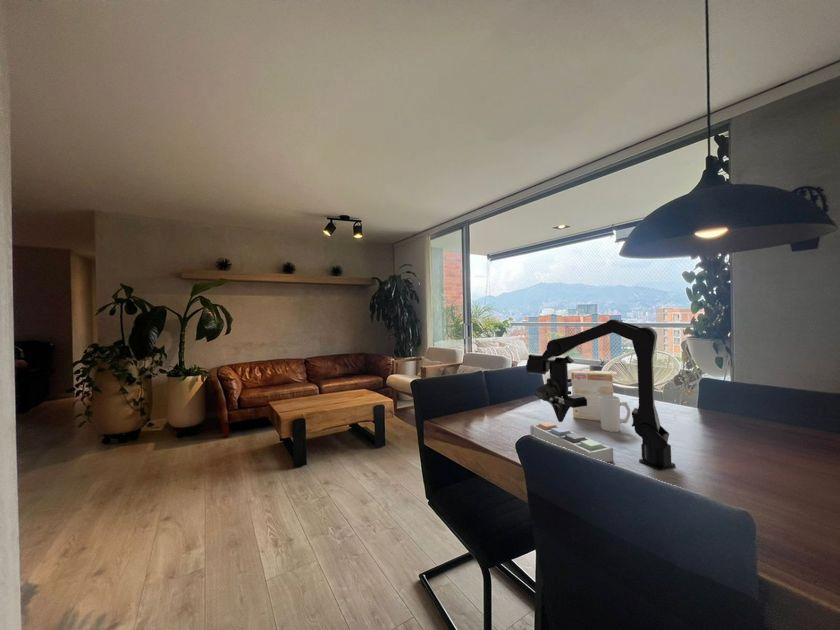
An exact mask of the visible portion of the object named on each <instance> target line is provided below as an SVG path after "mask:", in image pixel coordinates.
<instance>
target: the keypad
mask: <svg viewBox="0 0 840 630" xmlns="http://www.w3.org/2000/svg"><path fill="white" fill-rule="evenodd" d="M549 422H550V421H549ZM550 423H552V422H550ZM555 425H556V428H558V427H561V426H559V425H557V424H555ZM529 428H530V429H529V430H530V436H531V435H534V436H535V437H538V438H540V439H543V440H545V441H548V442H550V443H553V444H556V445H558V446H561V447H565V448H567V449H570V450H573V451H575V452H578V453H581V454H584V455H586V456H589V457H592V458H595V459H599V460H602V461H605V462H609V463H612V462H614V447H612V446H610V447H609V446H607V445H605V444H603V443H601V444H602V449H599V450H594V451H589V450H587V449H584V448H582V447H580V442H579V443H574V444H573V443H571V442H569V441H567V440H565V436H560V437H558V436H556V435H554V434H551V430H546V431H545V430H543V429H540V428H539V423H538V424H532V425H529ZM571 433H575V432H574V431H572V430H570V434H571ZM584 437H585V440H590V439H591V438H588V437H586V436H584Z"/></svg>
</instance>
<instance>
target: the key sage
mask: <svg viewBox="0 0 840 630" xmlns="http://www.w3.org/2000/svg"><path fill="white" fill-rule="evenodd" d="M589 439H590V440H585V441H580V447H582V448H584V449H587V450H589V451H594V450H599V449H602V444H603V443H600V442H598V441H596V440H593V439H592V438H589Z"/></svg>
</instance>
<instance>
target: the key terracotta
mask: <svg viewBox="0 0 840 630" xmlns="http://www.w3.org/2000/svg"><path fill="white" fill-rule="evenodd" d="M538 424H539V428H540V429H543V430H545V431H546V430H551V429H552V428H556V425H557V424H555V423H553V422H551V423H550V421H543V422H538Z"/></svg>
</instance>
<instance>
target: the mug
mask: <svg viewBox="0 0 840 630" xmlns="http://www.w3.org/2000/svg"><path fill="white" fill-rule="evenodd" d="M620 399H621V398H620V397H619V396H616V395H613V396H610V395H602V396H599V401H600V418H601V421H600V429H602V430H603V431H605V432H611V433H612V432H613V433H615V432H616V433H618V432H620V430H621V424H627V423H628V422H629V419H630V417H631V408H630V406H629V405H628V402H627V401H620ZM622 406H623V407H625V409H626V411H627V412H626V416H625V418H621V416H620V415H621V410H620V409H621V408H620V407H622Z"/></svg>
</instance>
